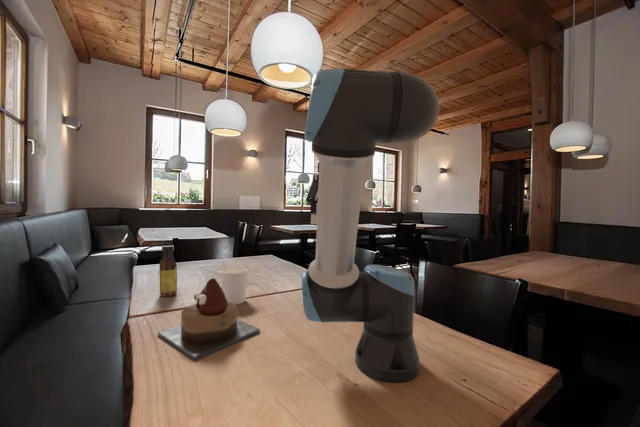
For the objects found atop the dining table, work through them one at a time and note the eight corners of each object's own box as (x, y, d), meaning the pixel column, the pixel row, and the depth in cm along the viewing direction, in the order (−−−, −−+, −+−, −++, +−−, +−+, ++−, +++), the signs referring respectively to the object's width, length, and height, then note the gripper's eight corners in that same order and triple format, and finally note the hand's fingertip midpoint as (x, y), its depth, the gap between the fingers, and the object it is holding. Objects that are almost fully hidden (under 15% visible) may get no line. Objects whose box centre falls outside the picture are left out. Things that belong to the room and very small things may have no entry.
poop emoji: (232, 311, 81) (233, 279, 80) (201, 318, 75) (202, 284, 75) (219, 302, 88) (220, 272, 88) (190, 307, 83) (191, 276, 83)
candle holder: (239, 307, 104) (240, 274, 103) (215, 304, 106) (215, 272, 105) (251, 298, 113) (252, 268, 113) (229, 296, 115) (229, 267, 115)
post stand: (259, 332, 84) (260, 308, 83) (194, 360, 68) (195, 331, 68) (220, 314, 96) (221, 294, 96) (157, 335, 80) (158, 310, 80)
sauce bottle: (180, 294, 116) (180, 246, 115) (164, 298, 111) (165, 247, 110) (171, 291, 119) (171, 244, 119) (155, 295, 114) (156, 246, 114)
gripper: (339, 167, 110) (338, 221, 110) (296, 157, 90) (294, 224, 90) (356, 165, 105) (354, 222, 106) (314, 155, 85) (312, 225, 86)
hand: (326, 223), depth 98 cm, fingers open, 13 cm apart
